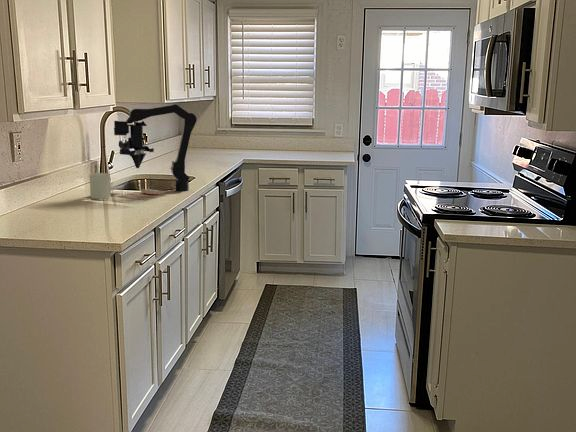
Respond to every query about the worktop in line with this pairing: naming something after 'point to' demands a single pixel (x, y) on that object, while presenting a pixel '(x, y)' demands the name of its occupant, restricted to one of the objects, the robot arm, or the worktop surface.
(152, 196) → the board
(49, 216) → the worktop surface
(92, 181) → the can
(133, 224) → the worktop surface
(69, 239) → the worktop surface
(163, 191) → the tile
